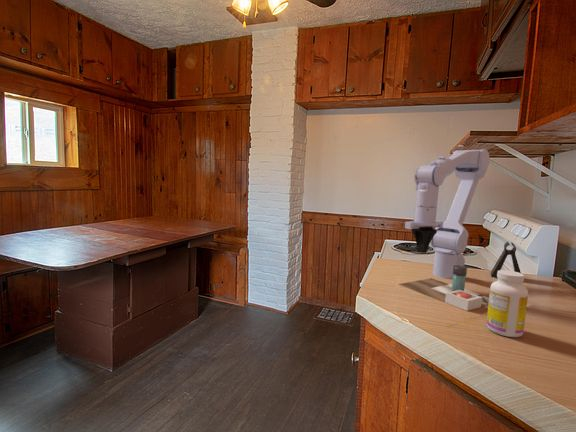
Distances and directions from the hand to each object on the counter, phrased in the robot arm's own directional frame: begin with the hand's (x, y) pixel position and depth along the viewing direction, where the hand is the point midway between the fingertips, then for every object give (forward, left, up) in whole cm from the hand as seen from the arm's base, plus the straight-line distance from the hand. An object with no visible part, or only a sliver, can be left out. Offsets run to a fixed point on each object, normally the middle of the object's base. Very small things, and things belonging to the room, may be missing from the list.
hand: (421, 252), depth 96 cm
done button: (+4, +16, -9) cm, 19 cm away
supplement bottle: (+8, +28, -11) cm, 31 cm away
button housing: (+4, +16, -10) cm, 20 cm away
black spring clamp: (-37, +6, -11) cm, 39 cm away
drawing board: (0, +9, -10) cm, 14 cm away
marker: (0, +12, -9) cm, 15 cm away
